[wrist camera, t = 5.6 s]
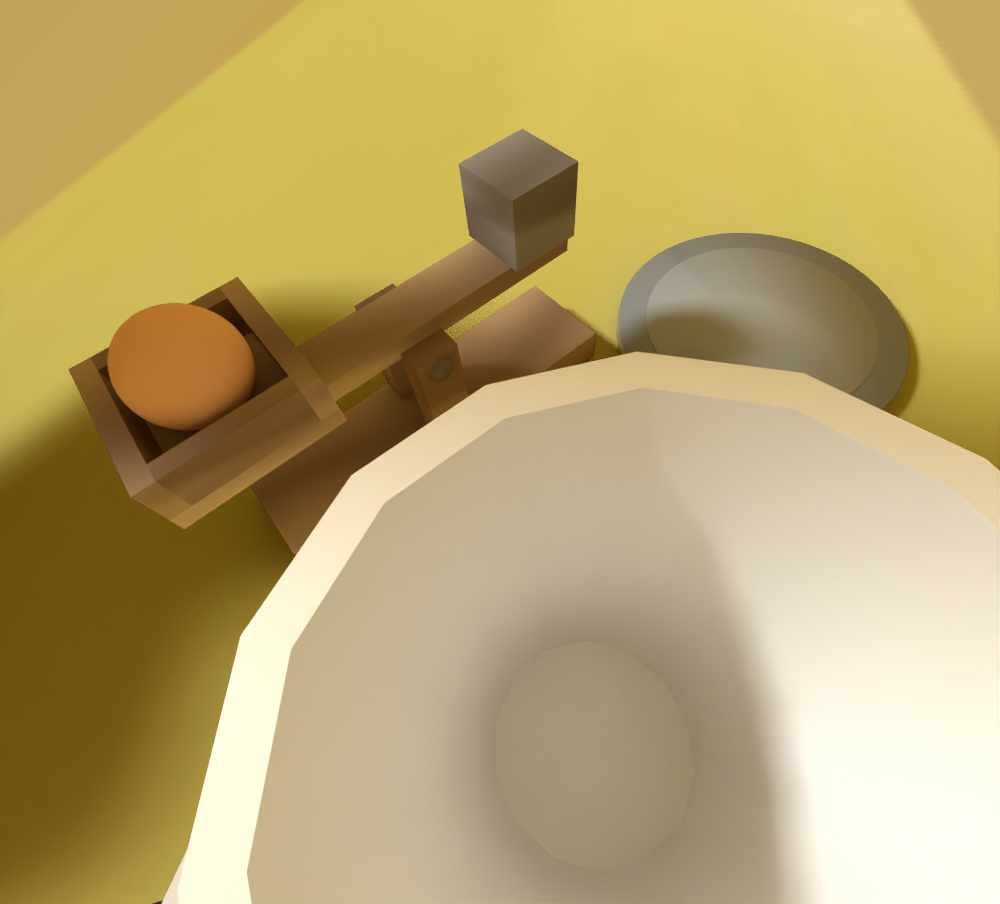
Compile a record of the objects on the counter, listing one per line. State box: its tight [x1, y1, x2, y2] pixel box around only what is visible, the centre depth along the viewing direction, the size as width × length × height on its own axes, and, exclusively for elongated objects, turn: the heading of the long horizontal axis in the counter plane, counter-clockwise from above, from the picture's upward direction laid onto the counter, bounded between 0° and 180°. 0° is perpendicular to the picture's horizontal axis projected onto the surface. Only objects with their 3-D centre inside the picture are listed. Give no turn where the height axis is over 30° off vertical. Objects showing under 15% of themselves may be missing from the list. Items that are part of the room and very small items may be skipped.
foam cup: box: [178, 352, 1000, 904], centre depth 10 cm, size 10×9×13 cm
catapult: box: [69, 129, 596, 555], centre depth 18 cm, size 5×16×9 cm, turn 130°
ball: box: [107, 303, 255, 431], centre depth 13 cm, size 3×3×3 cm
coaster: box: [617, 233, 909, 410], centre depth 23 cm, size 12×12×1 cm
